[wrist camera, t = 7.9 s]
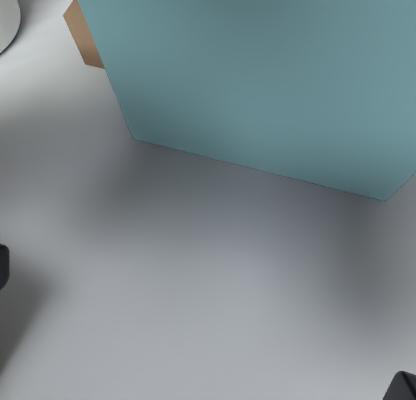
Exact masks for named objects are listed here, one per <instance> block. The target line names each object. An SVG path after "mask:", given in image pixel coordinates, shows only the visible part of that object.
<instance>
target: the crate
mask: <svg viewBox="0 0 416 400" xmlns="http://www.w3.org/2000/svg"><path fill="white" fill-rule="evenodd" d="M78 3H79V5H80V8H81V10H82V13H83V15H84V18H85V20H86V22H87V25H88V27H89V30H90V32H91V35H92V37H93V40H94V42H95V45H96V47H97V50H98V52H99V55H100V57H101V60H102V62H103V65H104V67H105V70H106V72H107V75H108V77H109V80H110V82H111V85H112V87H113V90H114V92H115V95H116V97H117V100H118V102H119V105H120V107H121V110H122V112H123V115H124V117H125V120H126V122H127V125H128V127H129V130H130V132H131V135H132V137H133V139H136V140H140V141H144V142H148V143H152V144H156V145H160V146H164V147H168V148H172V149H176V150H181V151H185V152H189V153H193V154H197V155H201V156H205V157H209V158H213V159H217V160H221V161H225V162H229V163H233V164H237V165H241V166H245V167H249V168H253V169H257V170H261V171H265V172H269V173H273V174H277V175H281V176H285V177H289V178H293V179H297V180H301V181H305V182H309V183H313V184H317V185H321V186H325V187H329V188H333V189H337V190H341V191H345V192H350V193H354V194H358V195H362V196H366V197H370V198H374V199H378V200H382V201H386V200H387V199H388V198H389V197H390V196H391V195H392V194H393V193H395V192H396V191H397V190H398V189H399V188H400V187H401V186H402V185H403V184H404V183H405V182H406V181H407V180H408V179H409V178H410V177H411V176H412V175H414V174H415V173H416V0H78Z"/></svg>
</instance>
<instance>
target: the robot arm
mask: <svg viewBox="0 0 416 400" xmlns="http://www.w3.org/2000/svg"><path fill="white" fill-rule="evenodd" d="M9 275H10V267H9V249H8V247H7V246H5V245H3V244H0V290H1V289H2V288H3V287H4V286H5V285H6V283H7V281H8V279H9ZM383 400H416V375H414V374H411V373H408V372H405V371H399V372H397V373H396V374H395V376H394V378H393V380H392V382H391V384H390V386H389V388H388V389H387V391H386V393H385V395H384V397H383Z"/></svg>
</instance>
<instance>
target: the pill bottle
mask: <svg viewBox="0 0 416 400" xmlns="http://www.w3.org/2000/svg"><path fill="white" fill-rule="evenodd" d="M20 19H21V14H20V7H19V4H18V1H17V0H0V53H1V52H2V51H3V50H4V49H5V48H6V47H7V46H8V45H9V44H10V43H11V41H12V40H13V38H14V37H15V35H16V33H17V31H18V29H19V25H20Z"/></svg>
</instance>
